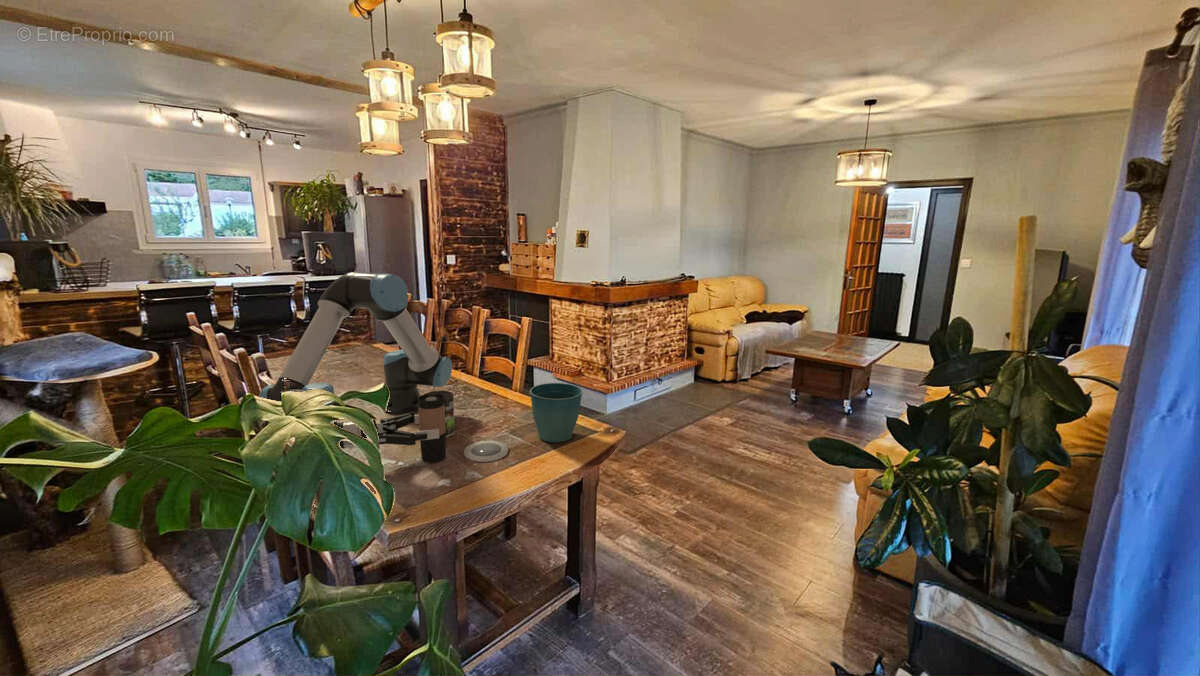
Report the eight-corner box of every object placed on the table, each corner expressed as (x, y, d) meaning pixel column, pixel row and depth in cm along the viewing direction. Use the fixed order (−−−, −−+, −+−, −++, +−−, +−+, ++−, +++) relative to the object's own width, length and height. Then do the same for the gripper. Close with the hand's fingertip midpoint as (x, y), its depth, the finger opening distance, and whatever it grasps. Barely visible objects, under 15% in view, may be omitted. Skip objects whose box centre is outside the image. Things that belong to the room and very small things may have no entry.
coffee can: (460, 429, 171) (459, 391, 168) (445, 440, 161) (444, 401, 158) (434, 426, 173) (432, 389, 170) (418, 437, 163) (416, 398, 160)
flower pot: (553, 422, 180) (553, 379, 176) (591, 434, 170) (592, 389, 166) (519, 437, 165) (518, 391, 162) (558, 452, 155) (559, 403, 152)
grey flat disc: (461, 446, 157) (461, 443, 157) (503, 440, 163) (503, 438, 162) (466, 464, 145) (466, 462, 144) (512, 458, 150) (512, 455, 150)
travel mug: (431, 465, 143) (428, 403, 139) (415, 459, 147) (412, 398, 143) (451, 456, 150) (449, 396, 146) (435, 450, 154) (433, 391, 149)
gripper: (365, 429, 151) (435, 421, 159) (358, 464, 128) (440, 453, 136) (363, 406, 149) (434, 400, 157) (356, 438, 127) (439, 428, 134)
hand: (437, 424), depth 147 cm, fingers open, 13 cm apart
